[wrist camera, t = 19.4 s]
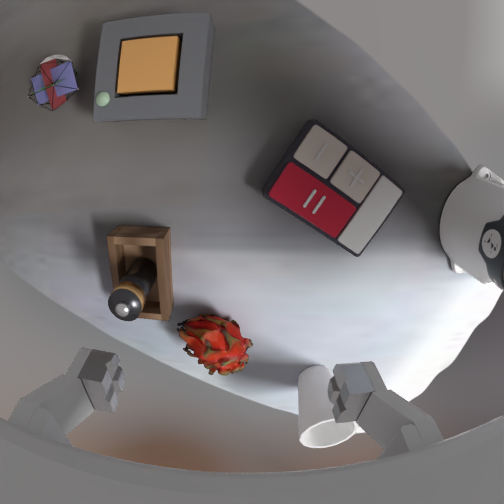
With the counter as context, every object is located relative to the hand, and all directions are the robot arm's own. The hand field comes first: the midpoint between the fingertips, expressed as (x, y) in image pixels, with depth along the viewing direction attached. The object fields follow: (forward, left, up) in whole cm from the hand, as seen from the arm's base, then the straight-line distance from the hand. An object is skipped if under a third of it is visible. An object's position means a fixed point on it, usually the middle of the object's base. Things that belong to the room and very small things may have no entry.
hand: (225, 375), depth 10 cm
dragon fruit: (+2, +21, -29) cm, 36 cm away
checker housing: (+10, -15, -29) cm, 34 cm away
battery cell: (+12, +11, -28) cm, 32 cm away
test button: (+10, -15, -26) cm, 31 cm away
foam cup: (-16, +32, -29) cm, 46 cm away
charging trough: (+12, +11, -29) cm, 33 cm away
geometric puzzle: (+24, -15, -29) cm, 41 cm away
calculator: (-12, -2, -30) cm, 32 cm away
